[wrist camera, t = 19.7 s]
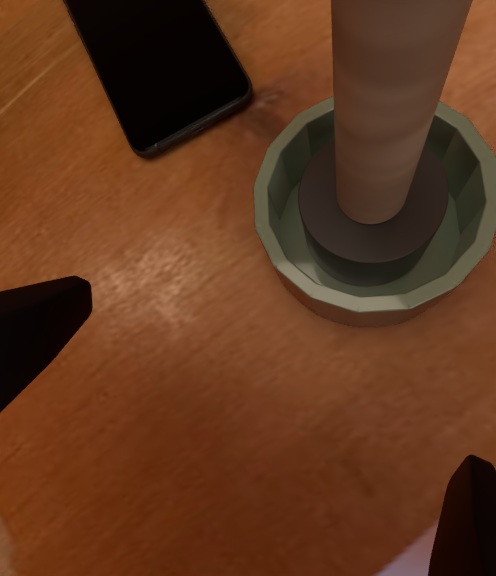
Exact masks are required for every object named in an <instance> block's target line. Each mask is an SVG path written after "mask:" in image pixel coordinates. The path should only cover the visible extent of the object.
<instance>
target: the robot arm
mask: <svg viewBox="0 0 496 576" xmlns="http://www.w3.org/2000/svg"><path fill="white" fill-rule="evenodd" d="M91 312H92V292H91V285H90V283H89V282H88V281H87V280H85V279H82V278H80V277H78V276H69V277H65V278H60V279H56V280H51V281H46V282H42V283H37V284H33V285H28V286H24V287H19V288H14V289H10V290H5V291H1V292H0V412H1V411H2V410H3V409H4V408H5V407H6V406H7V405H8V404H9V403H10V402H11V401H12V400H14V399H15V398H16V397H17V396H18V395H19V394H20V393H21V392H22V391H23V390H24V389H25V388H26V387H27V386H28V385H29V384H30V383H31V382H32V381H33V380H34V379H35V378H36V377H37V376H38V375H39V374H40V373H41V372H42V371H43V370H44V369H45V368H46V367H47V366H48V365H49V364H50V363H51V362H52V361H53V359H54V358H55V357H56V356H57V355H58V354H59V352H60V351H61V350H62V349H63V348H64V346H65V345H66V344H67V343H68V342H69V340H70V339H71V338H72V337H73V336H74V334H75V333H76V332H77V331H78V330H79V328H80V327H81V326H82V325H83V323H84V322H85V321H86V320H87V319H88V317H89V316H90V314H91ZM428 576H496V470H495V468H494V466H493V465H492V464H491V463H490V462H488V461H486V460H483V459H481V458H479V457H477V456H475V455H468V456H467V457H466V458H465V459H464V461H463V462H462V463H461V465H460V466H459V467H458V469H457V470H456V471H455V473H454V474H453V475H452V477H451V479H450V481H449V483H448V486H447V490H446V494H445V498H444V502H443V507H442V511H441V515H440V519H439V524H438V528H437V532H436V536H435V541H434V545H433V550H432V554H431V559H430V565H429V572H428Z"/></svg>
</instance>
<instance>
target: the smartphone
mask: <svg viewBox="0 0 496 576" xmlns="http://www.w3.org/2000/svg"><path fill="white" fill-rule="evenodd" d="M63 2H64V4H65V5H66V7H67V9H68V13H69V15H70V17H71V19H72V21H73V22H74V24H75V25H74V26H75V28H76V30H77V32H78V35H79V36H80V38H81V40H82V42H83V44H84V46H85V49H86V51H87V53H88V55H89V57H90V59H91V62H92V64H93V66H94V68H95V70H96V73H97V75H98V77H99V79H100V81H101V84H102V86H103V88H104V90H105V92H106V94H107V97H108V99H109V101H110V103H111V105H112V108H113V110H114V112H115V114H116V116H117V119H118V121H119V123H120V125H121V127H122V129H123V132H124V134H125V136H126V138H127V140H128V143H129V145H130V147H131V148H132V150H133V151H134V152H135V153H136V154H137V155H138V156H140V157H144V158H149V157H153V156H155V155H157V154H159V153H161V152H163V151H165V150H167V149H168V148H170V147H172V146H174V145H176V144H177V143H179V142H181V141H183V140H185V139H186V138H188V137H190V136H192V135H194V134H195V133H197V132H199V131H201V130H203V129H204V128H206V127H208V126H210V125H211V124H213V123H215V122H217V121H219V120H220V119H222V118H224V117H226V116H227V115H229V114H231V113H233V112H235V111H236V110H238V109H240V108H242V107H243V106H244V105H246V104H247V103H248V102H249V100H250V99H251V97H252V93H253V88H252V83H251V81H250V79H249V77H248V75H247V73H246V72H245V70H244V68H243V67H242V65H241V63H240V61H239V60H238V58H237V56H236V55H235V53H234V51H233V49H232V48H231V46H230V44H229V42H228V41H227V39H226V37H225V36H224V34H223V32H222V30H221V29H220V27H219V25H218V23H217V22H216V20H215V18H214V17H213V15H212V13H211V11H210V10H209V8H208V6H207V5H206V3H205V1H204V0H63Z"/></svg>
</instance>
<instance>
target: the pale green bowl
mask: <svg viewBox="0 0 496 576" xmlns="http://www.w3.org/2000/svg"><path fill="white" fill-rule="evenodd" d="M334 138H335V126H334V95H333V96H331V97H329V98H327V99H326V100H324V101H322V102H320V103H318V104H316V105H314V106H312V107H310V108H308V109H307V110H305V111H303V112H301V113H299V114H298V115H297V116H296V117H295V118H294V119H293V120H292V121H291V122H290V123H289V124H288V125H287V127H286V128H285V129H284V130H283V131H282V132H281V133H280V134H279V135H278V136H277V138H276V139H275V140H274V141H273V142H272V143H271V144H270V145H269V147H268V149H267V152H266V154H265V157H264V159H263V162H262V165H261V167H260V170H259V173H258V175H257V178H256V180H255V183H254V187H253V194H254V219H255V228H256V232H257V234H258V236H259V238H260V240H261V242H262V244H263V246H264V248H265V250H266V252H267V254H268V256H269V258H270V260H271V262H272V264H273V266H274V268H275V270H276V272H277V273H278V275H279V277H280V279H281V281H282V283H283V284H284V286H285V288H286V289H287V290H288V291H289V292H290V293H292V295H293V296H294V297H295V298H296V299H297V300H298V301H299V302H301V303H302V304H303V305H304V306H306V307H307V308H308V309H310V310H311V311H313V312H314V313H316V314H317V315H320V316H321V317H323V318H326V319H328V320H331V321H333V322H336V323H340V324H344V325H348V326H353V327H354V326H355V327H382V326H389V325H394V324H399V323H401V322H404V321H406V320H409V319H411V318H414V317H416V316H418V315H419V314H421V313H423V312H425V311H426V310H428V309H430V308H433V307H435V306H436V305H437V304H438V303H439V302H441V301H442V300H443V299H444V298H445V297H446V296H447V295H448V294H449V293H451V292H452V291H453V290H454V289H455V288H456V287H457V286H458V285H459V284H460V283H461V282H462V281H463V280H464V278H465V277H466V276H467V275H468V274H469V273H470V272H471V270H472V269H473V268H474V267H475V266H476V265H477V264H478V263H479V261H480V260H481V259H482V258H483V257H484V256H485V255H486V253H487V252H488V251H489V249H490V248H491V245H492V242H493V238H494V235H495V231H496V157H495V155H494V153H493V152H492V151H491V149H490V148H489V146H488V145H487V143H486V142H485V141H484V139H483V138H482V136H481V135H480V134H479V132H478V131H477V129H476V128H475V127H474V125H473V124H472V122H471V121H470V120H469V119H468V118H467V117H465V116H464V115H462V114H461V113H459V112H457V111H456V110H454V109H452V108H451V107H449V106H448V105H446V104H444V103H443V102H441V101H439V102H438V105H437V108H436V111H435V114H434V117H433V120H432V123H431V126H430V129H429V132H428V135H427V138H426V141H425V145H426V146H427V147H428V148H429V149H430V150H431V151H432V152H433V153H434V154H435V155H436V157H437V158H438V160H439V161H440V163H441V165H442V167H443V169H444V171H445V174H446V177H447V181H448V188H449V200H448V206H447V210H446V213H445V217H444V219H443V221H442V223H441V225H440V227H439V228H438V230H437V232H436V233H435V235H434V237H433V238H432V240H431V242H430V244H429V245H428V247H427V249H426V250H425V252H424V254H423V255H422V257H421V258H420V260H419V261H418V263H417V264H416V265H415V266H414V267H413V268H412V269H411V270H410V271H409V272H408V273H406V274H405V275H403V276H402V277H400V278H399V279H396V280H394V281H392V282H390V283H387V284H383V285H378V286H370V287H363V286H354V285H350V284H346V283H343V282H341V281H339V280H336V279H335V278H333V277H331V276H330V275H328V274H327V273H326V272H325V271H323V270H322V269H321V268H320V266H319V265H318V264H317V263H316V261H315V260H314V259H313V257H312V255H311V253H310V251H309V248H308V245H307V241H306V237H305V233H304V229H303V225H302V220H301V216H300V212H299V207H298V189H299V184H300V180H301V177H302V174H303V172H304V170H305V168H306V166H307V164H308V163H309V161H310V160H311V158H312V157H313V156H314V155H315V154H316V153H317V151H318V150H319V149H321V148H322V147H323V146H324V145H325V144H327V143H328V142H330V141H331V140H332V139H334Z"/></svg>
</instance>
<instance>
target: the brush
mask: <svg viewBox="0 0 496 576" xmlns="http://www.w3.org/2000/svg"><path fill="white" fill-rule="evenodd" d="M472 1H473V0H331V17H332V53H333V90H334V126H335V138H334V139H332V140H331V141H330V142H328V143H327V144H325V145H324V146H323V147H322V148H321V149H319V150H318V151H317V153H316V154H315V155H314V156H313V157H312V158H311V160H310V161H309V163H308V164H307V166H306V168H305V170H304V172H303V174H302V177H301V180H300V184H299V189H298V207H299V212H300V216H301V220H302V225H303V229H304V233H305V237H306V241H307V245H308V248H309V251H310V253H311V255H312V257H313V259H314V260H315V261H316V263H317V264H318V265H319V266H320V268H321V269H322V270H323V271H325V272H326V273H327V274H328V275H330V276H331V277H333V278H335V279H336V280H339V281H341V282H343V283H346V284H350V285H354V286H363V287H370V286H378V285H383V284H387V283H390V282H392V281H394V280H396V279H399V278H400V277H402V276H403V275H405V274H406V273H408V272H409V271H410V270H411V269H412V268H413V267H414V266H415V265H416V264H417V263H418V261H419V260H420V258H421V257H422V255H423V254H424V252H425V250H426V249H427V247H428V245H429V244H430V242H431V240H432V238H433V237H434V235H435V233H436V232H437V230H438V228H439V227H440V225H441V223H442V221H443V219H444V217H445V213H446V210H447V206H448V200H449V188H448V181H447V177H446V174H445V171H444V169H443V167H442V165H441V163H440V161H439V160H438V158H437V157H436V155H435V154H434V153H433V152H432V151H431V150H430V149H429V148H428V147H427V146H426V145H425V141H426V138H427V135H428V132H429V129H430V126H431V123H432V120H433V117H434V114H435V111H436V108H437V105H438V102H439V99H440V96H441V93H442V90H443V87H444V84H445V81H446V78H447V75H448V72H449V69H450V66H451V63H452V60H453V57H454V54H455V51H456V48H457V45H458V42H459V39H460V36H461V33H462V30H463V27H464V24H465V21H466V18H467V15H468V12H469V9H470V6H471V3H472Z"/></svg>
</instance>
